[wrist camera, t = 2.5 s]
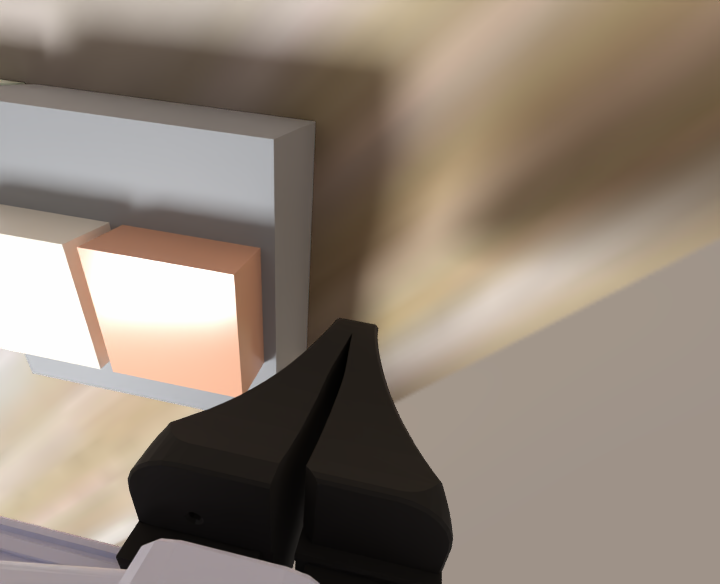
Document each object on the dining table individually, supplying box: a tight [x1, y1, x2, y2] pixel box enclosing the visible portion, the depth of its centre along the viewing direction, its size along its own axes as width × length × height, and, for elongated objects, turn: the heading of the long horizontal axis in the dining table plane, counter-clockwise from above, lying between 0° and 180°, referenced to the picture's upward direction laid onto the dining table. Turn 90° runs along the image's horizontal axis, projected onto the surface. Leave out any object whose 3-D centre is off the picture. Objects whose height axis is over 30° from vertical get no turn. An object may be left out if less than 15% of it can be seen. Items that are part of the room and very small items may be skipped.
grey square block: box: [0, 84, 316, 410], centre depth 17 cm, size 12×12×4 cm
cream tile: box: [0, 204, 111, 369], centre depth 14 cm, size 5×5×2 cm
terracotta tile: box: [77, 225, 264, 397], centre depth 14 cm, size 5×5×2 cm
